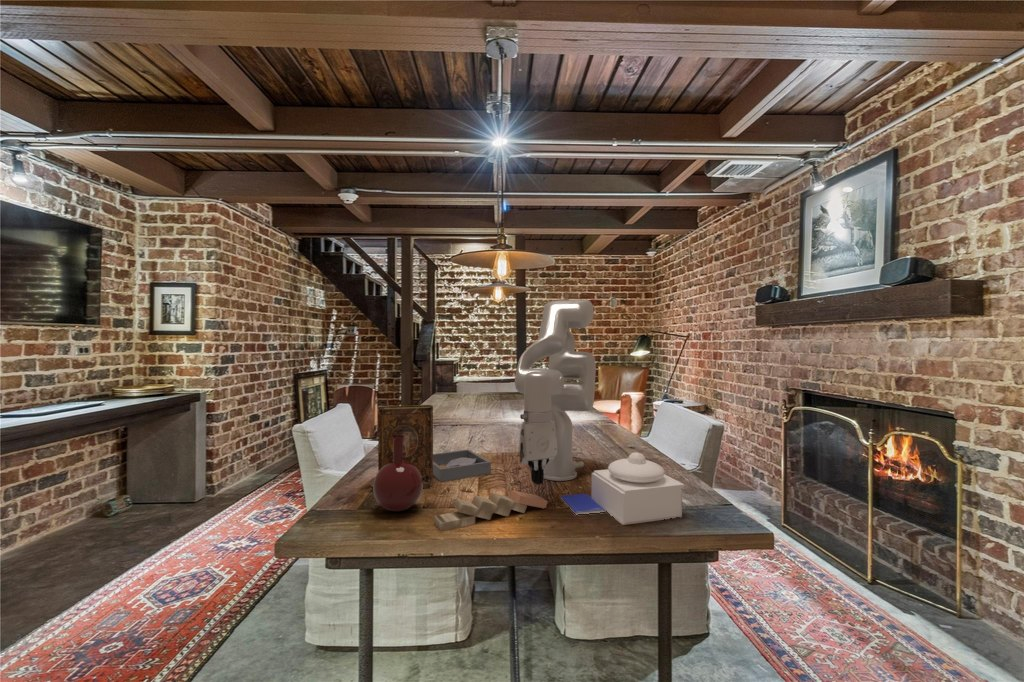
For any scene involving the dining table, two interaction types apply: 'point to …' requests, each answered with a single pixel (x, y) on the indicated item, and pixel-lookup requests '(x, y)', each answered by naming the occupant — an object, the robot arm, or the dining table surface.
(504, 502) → the domino
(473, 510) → the domino
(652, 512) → the butter dish
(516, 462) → the dining table surface
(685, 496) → the dining table surface
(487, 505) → the domino
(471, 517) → the domino
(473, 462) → the stone block
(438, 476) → the slate frame
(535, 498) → the domino
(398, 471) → the round-bottom flask
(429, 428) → the book
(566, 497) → the hard drive
